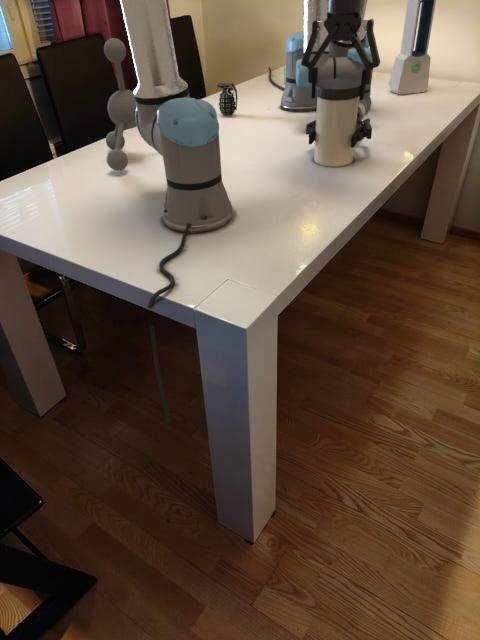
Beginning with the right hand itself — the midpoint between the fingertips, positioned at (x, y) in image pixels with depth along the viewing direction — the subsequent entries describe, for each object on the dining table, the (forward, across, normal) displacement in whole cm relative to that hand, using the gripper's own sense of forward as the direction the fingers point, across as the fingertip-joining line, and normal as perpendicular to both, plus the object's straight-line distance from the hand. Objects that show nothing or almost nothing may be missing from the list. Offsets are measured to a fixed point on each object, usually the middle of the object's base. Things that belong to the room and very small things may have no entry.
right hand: (331, 140), depth 124 cm
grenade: (-37, +45, -6) cm, 59 cm away
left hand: (-4, 0, +9) cm, 10 cm away
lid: (-4, 0, +12) cm, 13 cm away
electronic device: (-81, -10, -6) cm, 82 cm away
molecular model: (+7, +53, -6) cm, 54 cm away
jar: (-4, 0, -6) cm, 8 cm away
